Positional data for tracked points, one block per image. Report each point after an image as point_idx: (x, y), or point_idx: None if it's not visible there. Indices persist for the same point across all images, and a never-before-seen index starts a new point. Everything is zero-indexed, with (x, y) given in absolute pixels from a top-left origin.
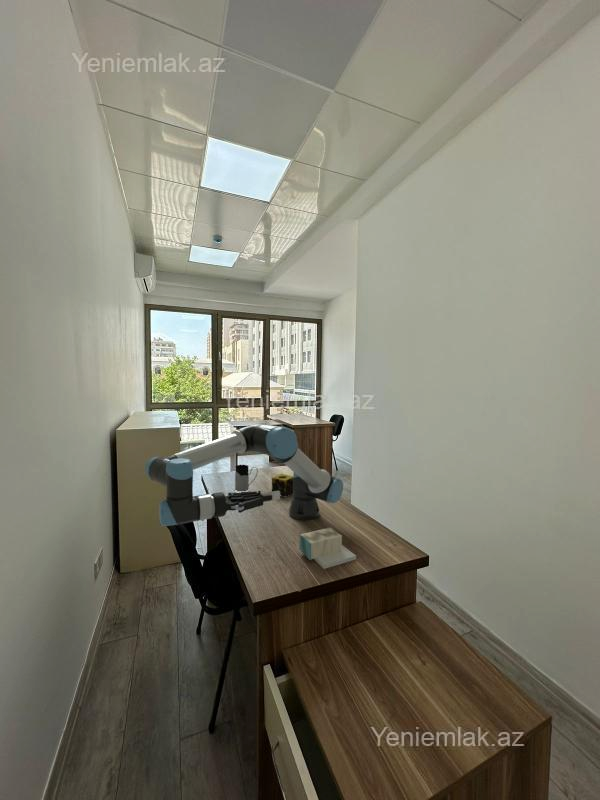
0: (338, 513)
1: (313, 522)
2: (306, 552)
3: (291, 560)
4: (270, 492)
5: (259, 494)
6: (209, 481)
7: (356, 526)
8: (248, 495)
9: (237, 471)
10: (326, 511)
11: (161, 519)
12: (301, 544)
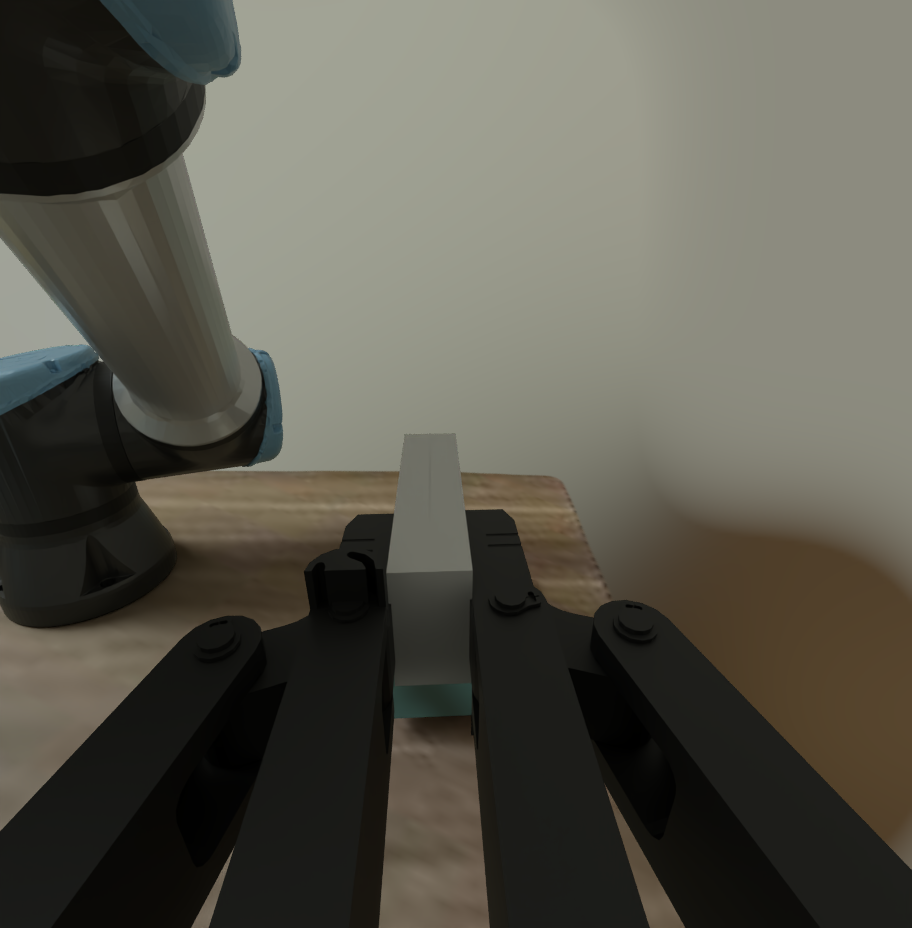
0: (221, 501)
1: (195, 578)
2: (462, 699)
3: (426, 802)
4: (427, 486)
5: (386, 615)
6: None
7: (337, 501)
8: (328, 911)
9: None
10: (171, 518)
11: None
12: (404, 689)
